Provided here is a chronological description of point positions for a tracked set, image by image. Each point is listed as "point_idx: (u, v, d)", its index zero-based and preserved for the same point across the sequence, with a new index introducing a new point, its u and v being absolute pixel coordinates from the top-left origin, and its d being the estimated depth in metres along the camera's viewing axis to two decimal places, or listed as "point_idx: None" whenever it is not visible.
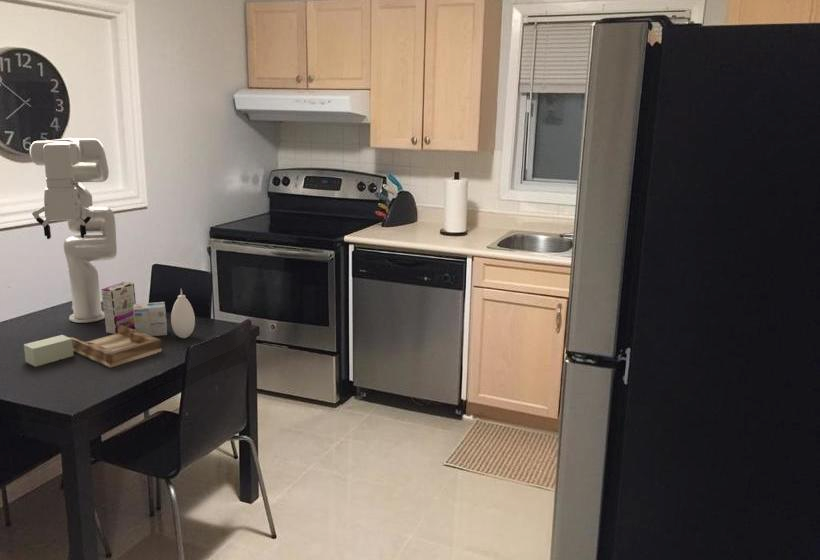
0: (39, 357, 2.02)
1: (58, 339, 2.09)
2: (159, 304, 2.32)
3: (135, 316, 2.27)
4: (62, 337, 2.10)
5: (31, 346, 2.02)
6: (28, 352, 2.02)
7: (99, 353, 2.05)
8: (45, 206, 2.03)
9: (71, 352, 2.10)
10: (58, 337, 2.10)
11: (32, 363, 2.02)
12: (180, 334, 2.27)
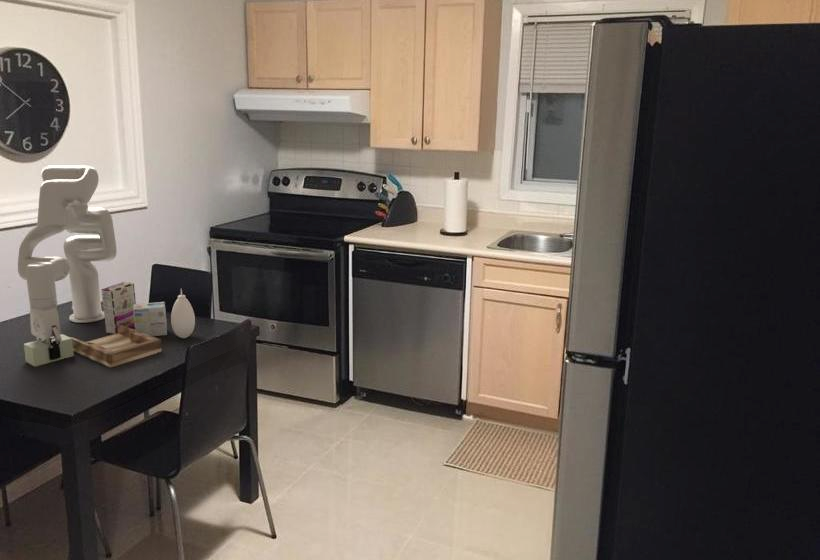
0: (38, 357, 2.02)
1: None
2: (159, 304, 2.32)
3: (135, 316, 2.27)
4: (62, 337, 2.10)
5: (31, 345, 2.02)
6: (28, 351, 2.02)
7: (99, 353, 2.05)
8: (59, 323, 2.04)
9: (71, 352, 2.10)
10: None
11: (32, 362, 2.02)
12: (180, 334, 2.27)
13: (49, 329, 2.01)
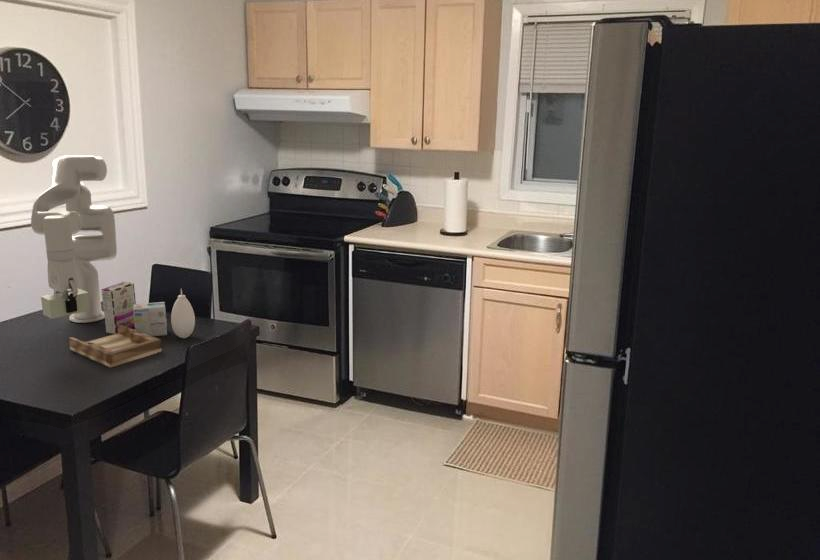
0: (55, 309, 2.04)
1: None
2: (159, 304, 2.32)
3: (135, 316, 2.27)
4: (79, 291, 2.12)
5: (48, 298, 2.04)
6: (45, 303, 2.04)
7: (99, 353, 2.05)
8: (76, 277, 2.05)
9: (87, 306, 2.11)
10: None
11: (49, 315, 2.04)
12: (180, 334, 2.27)
13: (66, 282, 2.02)
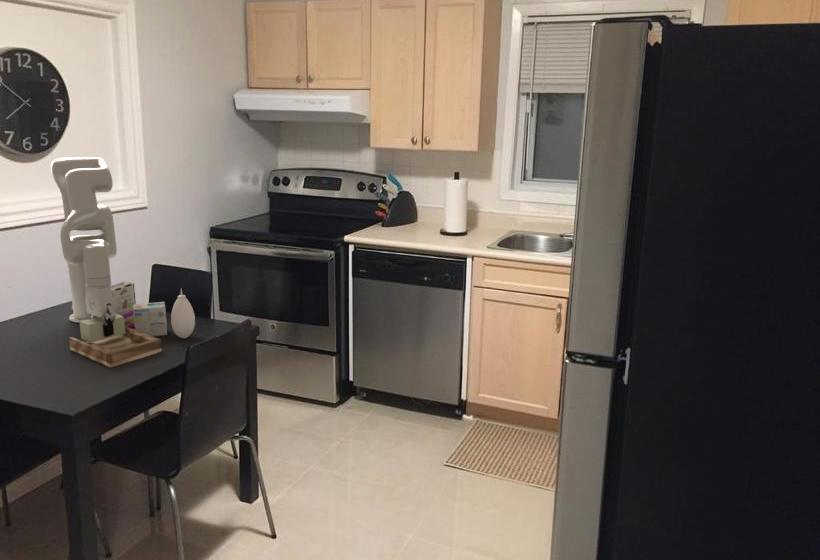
0: (94, 333, 2.13)
1: None
2: (159, 304, 2.32)
3: (135, 316, 2.27)
4: None
5: (87, 322, 2.13)
6: (84, 328, 2.14)
7: (99, 353, 2.05)
8: (113, 302, 2.15)
9: (123, 329, 2.21)
10: None
11: (88, 339, 2.13)
12: (180, 334, 2.27)
13: (104, 307, 2.12)
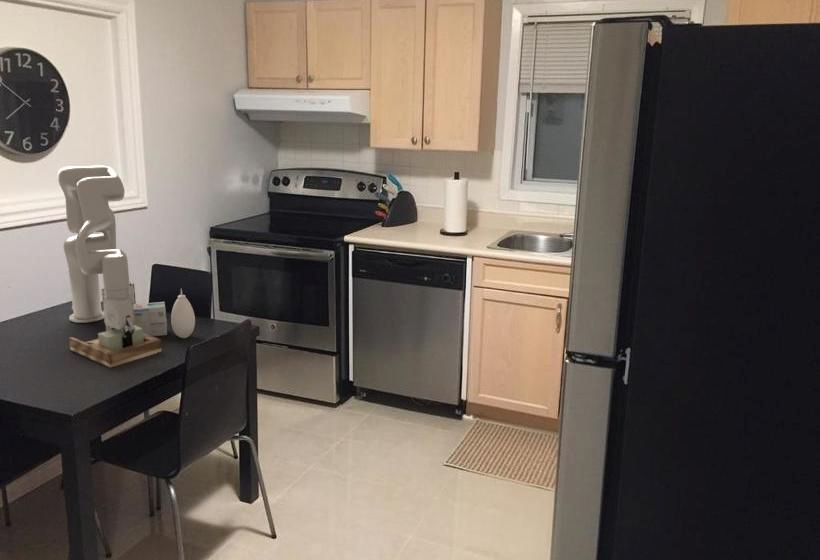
0: (113, 346, 2.08)
1: None
2: (159, 304, 2.32)
3: (135, 316, 2.27)
4: None
5: (105, 335, 2.08)
6: (103, 340, 2.08)
7: (99, 353, 2.05)
8: (132, 314, 2.10)
9: (142, 341, 2.16)
10: None
11: None
12: (180, 334, 2.27)
13: (124, 319, 2.07)
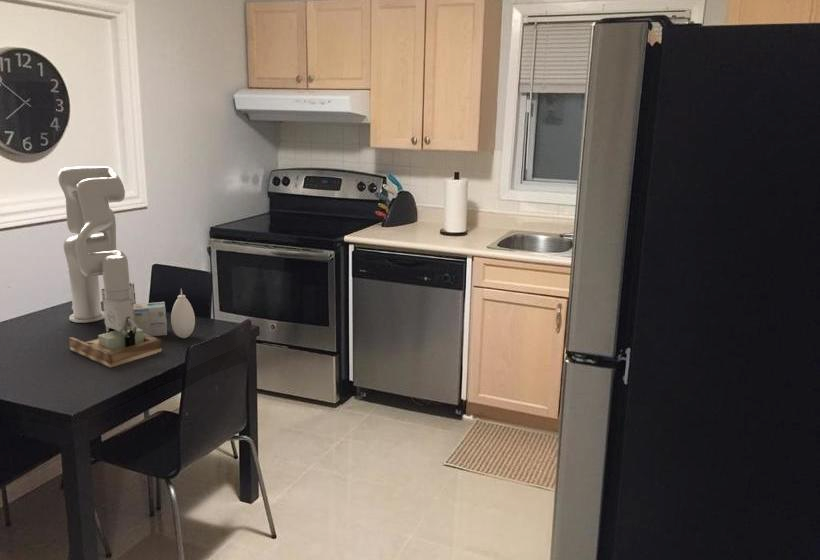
0: (113, 348, 2.08)
1: (129, 330, 2.15)
2: (159, 304, 2.32)
3: (135, 316, 2.27)
4: None
5: (106, 337, 2.08)
6: (103, 342, 2.08)
7: (99, 353, 2.05)
8: None
9: None
10: None
11: None
12: (180, 334, 2.27)
13: (124, 320, 2.07)
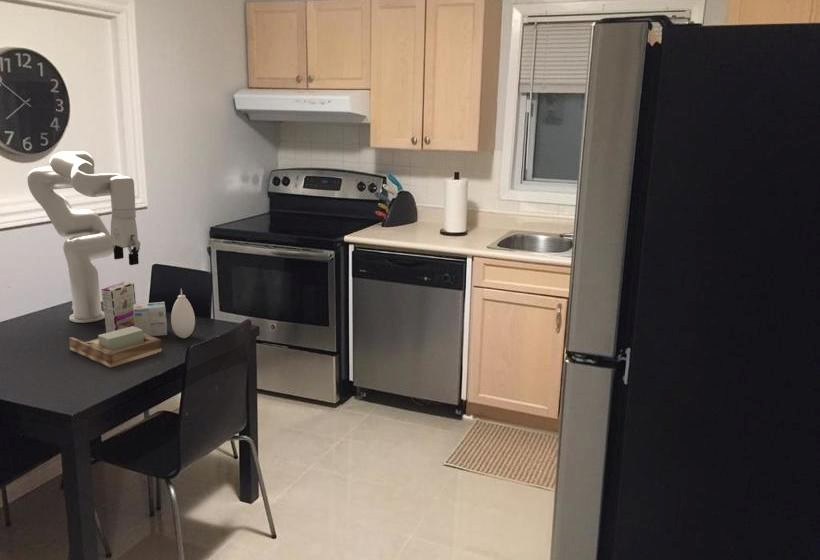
0: (113, 348, 2.08)
1: (129, 330, 2.15)
2: (159, 304, 2.32)
3: (135, 316, 2.27)
4: (133, 328, 2.16)
5: (106, 337, 2.08)
6: (103, 342, 2.08)
7: (99, 353, 2.05)
8: None
9: None
10: (129, 328, 2.16)
11: None
12: (180, 334, 2.27)
13: (128, 237, 2.21)
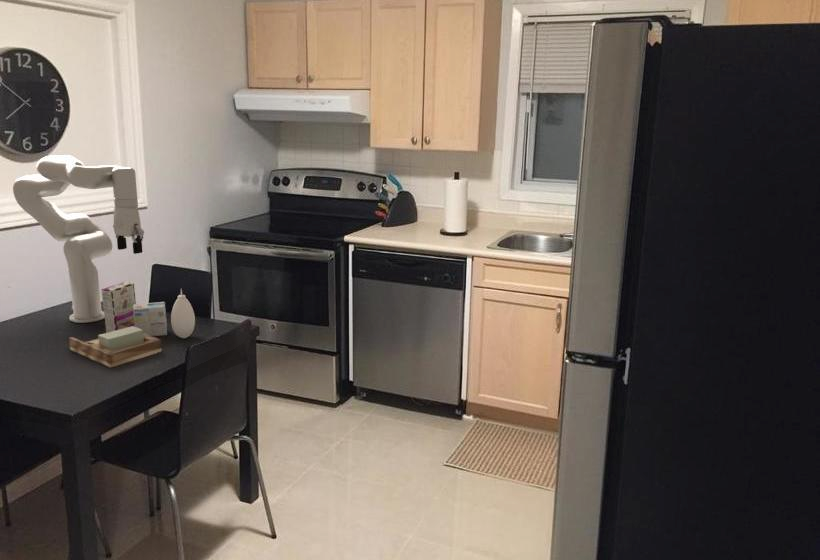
0: (113, 348, 2.08)
1: (129, 330, 2.15)
2: (159, 304, 2.32)
3: (135, 316, 2.27)
4: (133, 328, 2.16)
5: (106, 337, 2.08)
6: (103, 342, 2.08)
7: (99, 353, 2.05)
8: (140, 223, 2.29)
9: None
10: (129, 328, 2.16)
11: None
12: (180, 334, 2.27)
13: (132, 226, 2.27)
